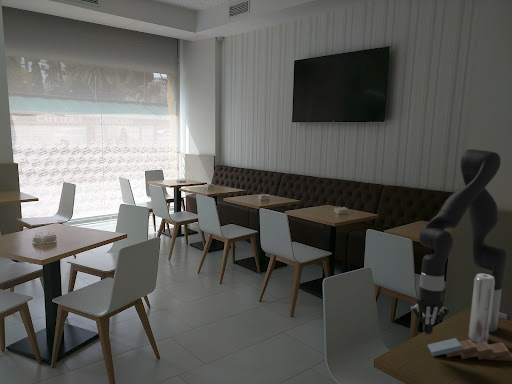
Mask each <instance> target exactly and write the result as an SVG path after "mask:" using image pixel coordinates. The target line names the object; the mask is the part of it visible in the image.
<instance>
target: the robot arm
mask: <svg viewBox="0 0 512 384" xmlns="http://www.w3.org/2000/svg"><path fill="white" fill-rule="evenodd" d="M500 167H501V156H500V155H499V154H498V153H497V152H494V151H492V150H491V151H489V150H483V149H473V148H472V149H466V150H465V151H463V153H462V155H461V158H460V171H461V175H462V179H463V184H464V187H462V188H460V189H459V190H457V191H455V192H454V193H453V194H451V195H450V196H449V197H448V198H447V199H446V200H445V202H444V203H443V204H442V206H441V208H440V209H439V211H438V213H437V214H436V215H435V216H433V218H432V219H431V220H430V221H429V222H427V224H425V225H424V227H422V229H421V230H420V233H419V237H418V238H419V239H418V240H419V243H420V244H421V245H422V246H423V247H425V248H429V249H432V250H434V252H433V254H425V255H424V256H423V257H422V262H421V264H422V265H421V273H420V277H419V286H418V288H419V292H418V300H417V301H416V304H415V305H410V306H409V308H410V310H411V311H412V312H413V314H414V315H415V317H416V318H417V319H418V321H419V323H422V331H423V333H424V334H425V335H431V334H432V333H433V329H434V324H439V323H440V322H441V321H443V319H444V318H445V317H446V316H447V315H448V314H449V313H450V310H449V309H448V308H447V307H445V306H444V303H443V300H444V299H443V298H444V288H445V269H446V262H447V260H448V257H449V255H450V253H451V250H452V247H453V243H454V239H453V236H452V234H451V233H450V232H449V231H447V230H445V229H454V228H456V227H457V226H458V225H459V223H460V222H461V220H462V219H463V217H464V215H465V214H466V212H467V210H468V217H469V222H470V228H471V237H472V238H471V239H472V241H471V243H472V244H471V245H472V246H471V247H472V248H471V249H472V260H473V264H474V265H475V266H476V267H478V268H481V269H485V270H491V273H489V274H488V275H491V276H493V277H494V279H495V285H494V294H493V303H492V312H491V321H490V329H489V333H494V332H496V331H498V330H497V329H498V324H499V316H500V307H501V297H502V296H501V295H502V289H503V282H504V279H505V278H504V276H505V270H506V267H507V266H506V264H507V260H508V259H507V258H508V256H507V255H508V254H507V251H506V249H504V248H502V247H498V246H492V245H489V244H486V243H485V239H486V237H487V236H488V235H489V233H491V232H492V230H493V229H494V228H495V227H496V226H497V223H498V222H499V214H498V213H499V212H498V205H497V202H496V200H495V199H494V197H493V196H492V195H491V194H490V192H489V191H488V190H487V189H486V187H487V186H488V184H490V182H491V181H492V180H493V179H494V177H495V176H496V175H497V173H498V171H499V169H500ZM420 311H421V312H422V314H420V313H419V312H420ZM421 315H422V316H421Z"/></svg>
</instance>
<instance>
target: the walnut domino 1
mask: <svg viewBox="0 0 512 384" xmlns="http://www.w3.org/2000/svg"><path fill="white" fill-rule="evenodd" d="M458 342H459V343H460V344H461V346H462V349H463V350H459V351H454V352H450V353H446V354H444V355H445V357H446V358H447V359H448V358H451V357H455V356H456V357H457V356H460V355H461V354H466V353H470V352H475V351H477V348H476V346H475V345H474V343H475V342H474V341H472V340H471V339H470V338H469V339H465V340H460V341H458Z"/></svg>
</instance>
